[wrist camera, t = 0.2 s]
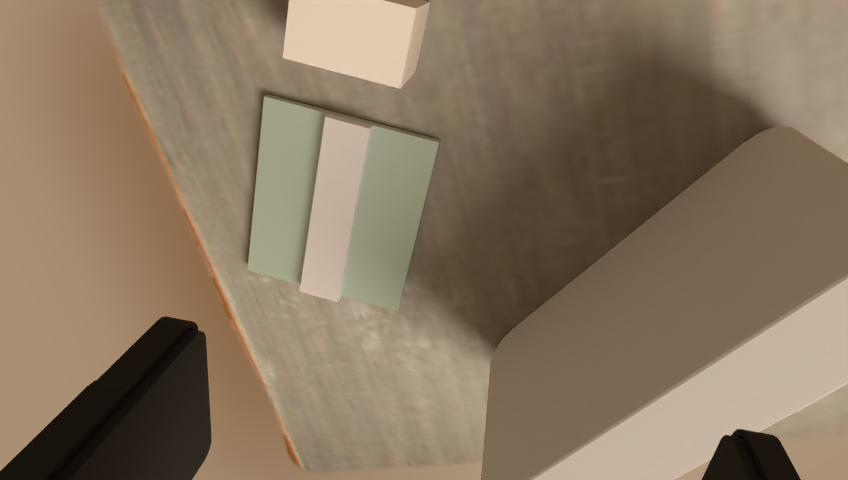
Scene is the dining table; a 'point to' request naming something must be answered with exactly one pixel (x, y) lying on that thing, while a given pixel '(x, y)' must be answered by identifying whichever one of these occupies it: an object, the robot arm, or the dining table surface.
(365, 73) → the block
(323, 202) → the rail board
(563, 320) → the grey rounded block
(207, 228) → the dining table surface
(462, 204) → the dining table surface
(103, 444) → the robot arm
